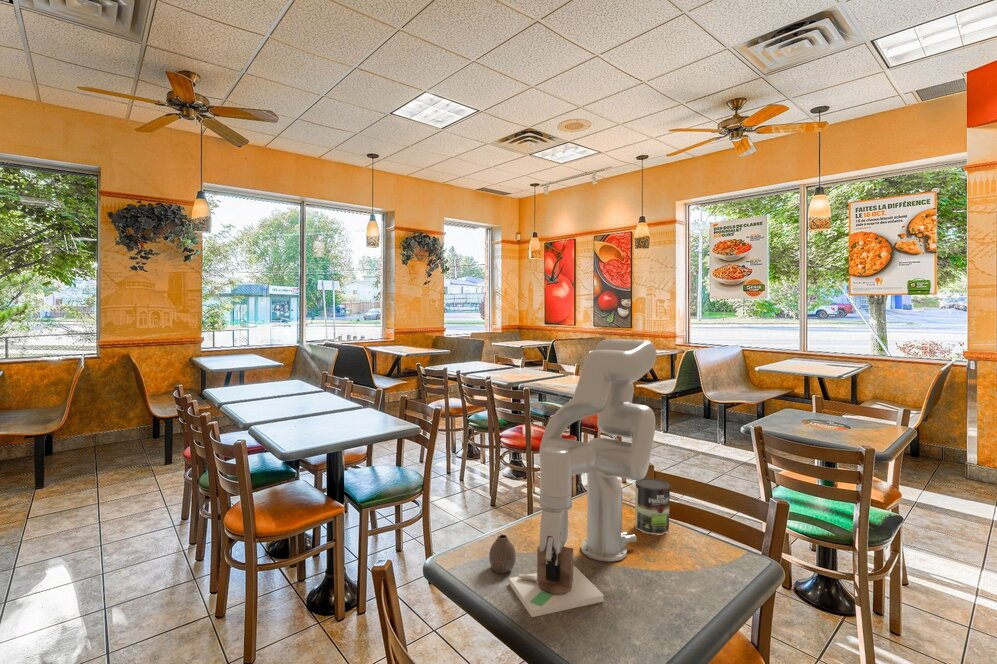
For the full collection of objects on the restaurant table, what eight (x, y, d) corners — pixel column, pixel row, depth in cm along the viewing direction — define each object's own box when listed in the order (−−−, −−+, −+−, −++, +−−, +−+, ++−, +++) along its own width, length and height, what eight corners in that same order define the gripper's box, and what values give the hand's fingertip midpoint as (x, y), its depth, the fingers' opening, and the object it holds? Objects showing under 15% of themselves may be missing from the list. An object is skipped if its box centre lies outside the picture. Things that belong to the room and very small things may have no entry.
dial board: (574, 571, 127) (574, 565, 127) (603, 601, 114) (603, 594, 114) (509, 583, 121) (509, 577, 121) (531, 617, 108) (531, 609, 108)
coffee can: (676, 534, 149) (676, 488, 148) (644, 537, 147) (645, 490, 146) (658, 520, 159) (659, 476, 158) (628, 522, 157) (629, 478, 156)
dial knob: (575, 579, 120) (575, 543, 119) (567, 597, 112) (568, 559, 112) (523, 569, 124) (524, 535, 124) (513, 585, 117) (514, 549, 116)
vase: (513, 578, 124) (513, 543, 123) (486, 575, 125) (486, 541, 125) (517, 564, 130) (517, 531, 130) (492, 561, 132) (492, 529, 132)
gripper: (549, 486, 126) (548, 556, 126) (530, 510, 110) (529, 590, 111) (578, 489, 123) (577, 562, 124) (563, 515, 107) (562, 597, 108)
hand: (555, 574), depth 117 cm, fingers open, 3 cm apart
